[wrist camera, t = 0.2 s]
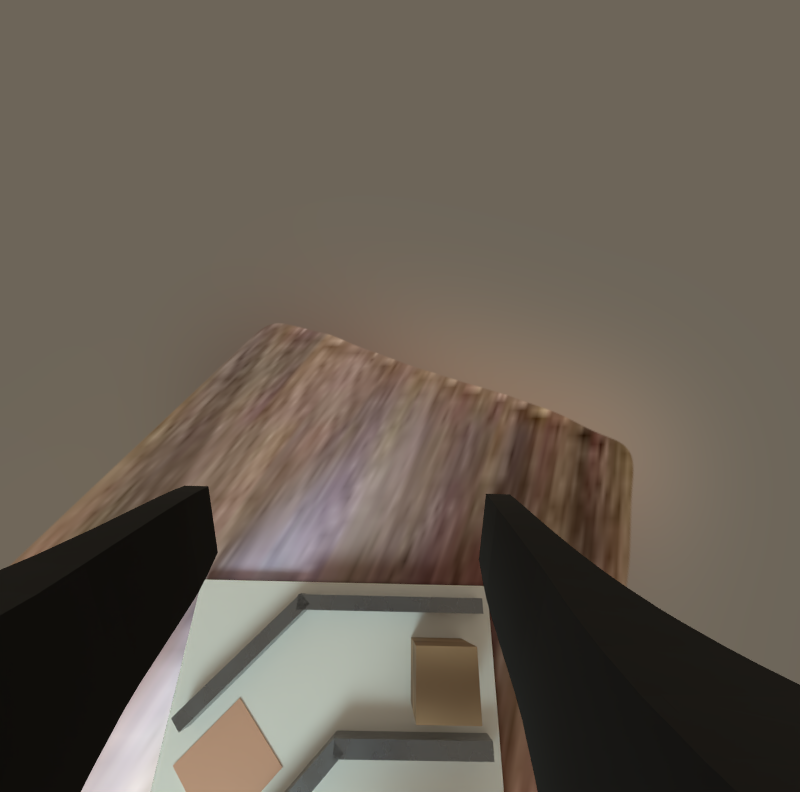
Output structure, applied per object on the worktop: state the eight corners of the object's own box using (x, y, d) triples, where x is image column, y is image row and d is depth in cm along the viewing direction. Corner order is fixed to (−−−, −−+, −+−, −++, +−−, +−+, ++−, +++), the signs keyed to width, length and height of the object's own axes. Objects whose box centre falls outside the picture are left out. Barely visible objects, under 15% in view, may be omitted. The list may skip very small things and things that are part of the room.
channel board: (507, 858, 28) (510, 864, 27) (138, 854, 27) (133, 860, 27) (485, 586, 36) (487, 586, 36) (204, 579, 36) (201, 579, 35)
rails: (495, 852, 28) (502, 869, 26) (151, 847, 27) (135, 864, 25) (477, 597, 35) (482, 597, 34) (211, 591, 35) (201, 590, 33)
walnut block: (464, 701, 32) (482, 726, 25) (410, 700, 32) (416, 724, 25) (461, 638, 34) (477, 646, 28) (410, 637, 34) (416, 645, 28)
